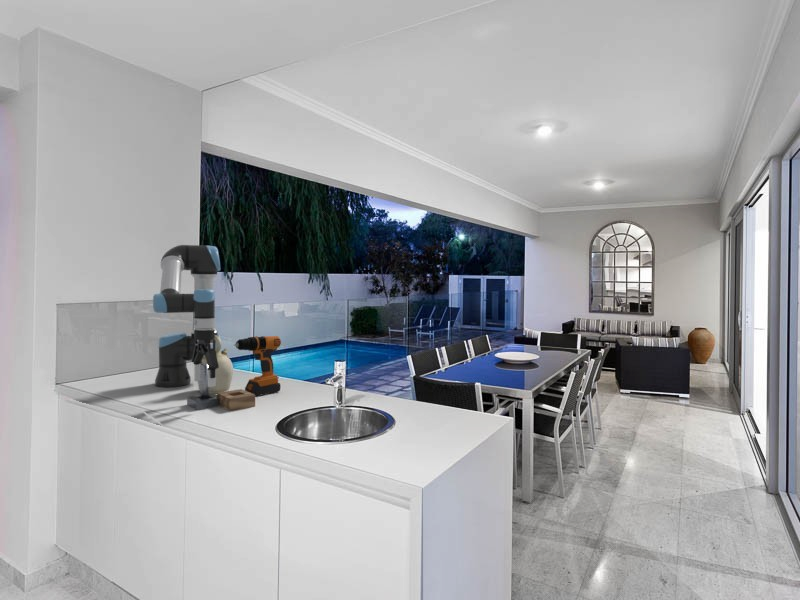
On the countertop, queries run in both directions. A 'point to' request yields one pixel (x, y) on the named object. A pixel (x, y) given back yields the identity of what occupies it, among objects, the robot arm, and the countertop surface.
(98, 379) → the countertop surface
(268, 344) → the power drill
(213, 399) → the socket block
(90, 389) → the countertop surface
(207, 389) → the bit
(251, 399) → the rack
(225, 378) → the jug
